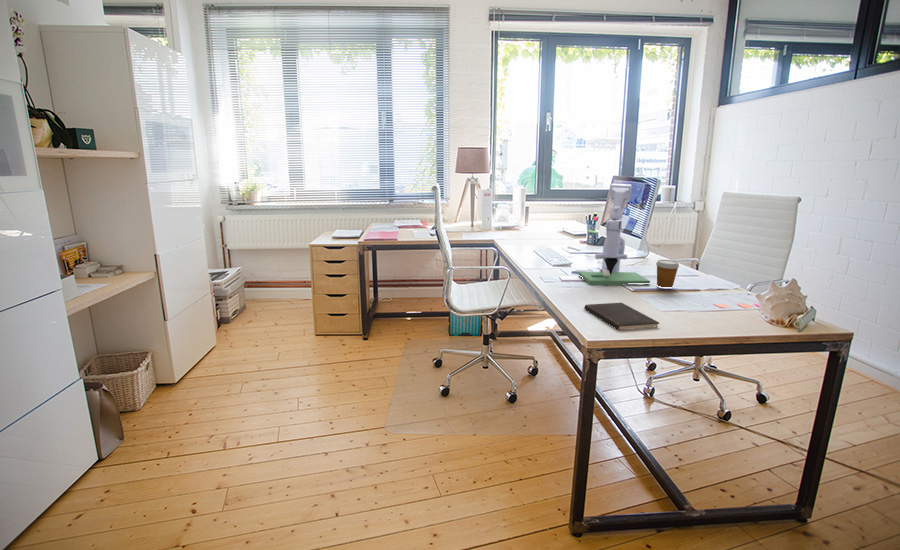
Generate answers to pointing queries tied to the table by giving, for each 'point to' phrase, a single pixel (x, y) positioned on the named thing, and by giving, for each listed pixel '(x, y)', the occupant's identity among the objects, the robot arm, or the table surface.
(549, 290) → the table surface
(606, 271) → the ball
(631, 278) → the putting mat
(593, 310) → the hardcover book
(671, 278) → the disposable coffee cup
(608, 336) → the table surface
